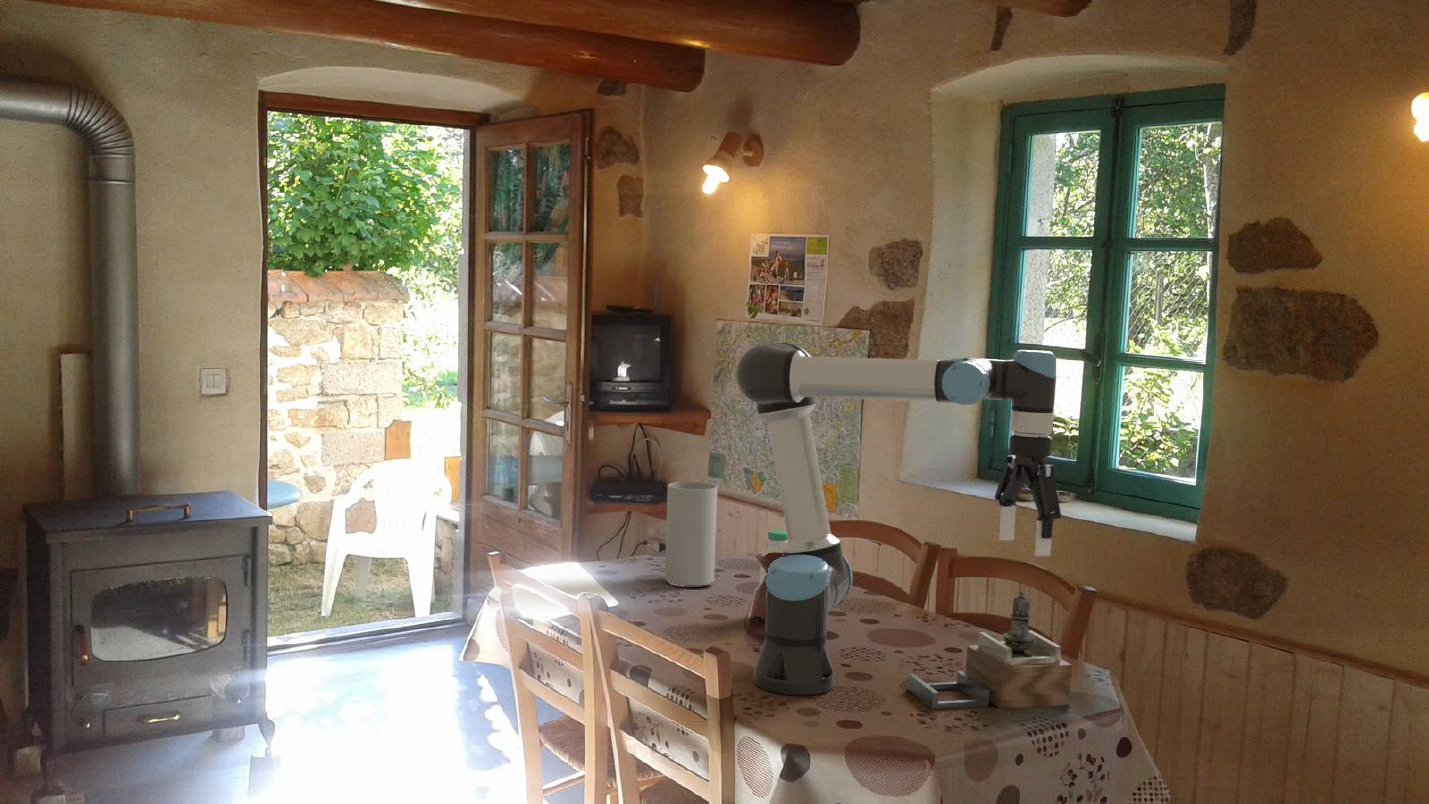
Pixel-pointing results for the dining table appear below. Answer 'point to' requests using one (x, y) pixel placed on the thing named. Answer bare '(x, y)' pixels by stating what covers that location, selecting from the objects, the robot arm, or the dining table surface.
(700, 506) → the cylinder vase
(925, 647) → the dining table surface
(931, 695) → the low socket
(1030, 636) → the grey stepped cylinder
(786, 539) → the milk bottle
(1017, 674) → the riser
